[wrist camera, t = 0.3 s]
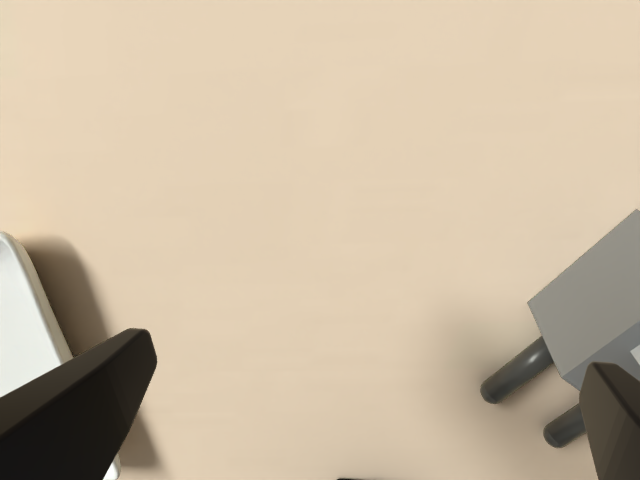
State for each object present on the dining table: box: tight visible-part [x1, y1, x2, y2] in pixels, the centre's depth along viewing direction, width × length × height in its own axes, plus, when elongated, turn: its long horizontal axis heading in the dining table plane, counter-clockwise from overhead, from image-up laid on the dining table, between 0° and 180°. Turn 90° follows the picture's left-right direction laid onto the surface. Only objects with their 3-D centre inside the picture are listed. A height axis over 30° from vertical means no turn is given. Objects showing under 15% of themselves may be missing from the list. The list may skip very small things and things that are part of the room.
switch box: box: [480, 209, 640, 448], centre depth 21 cm, size 13×10×8 cm
